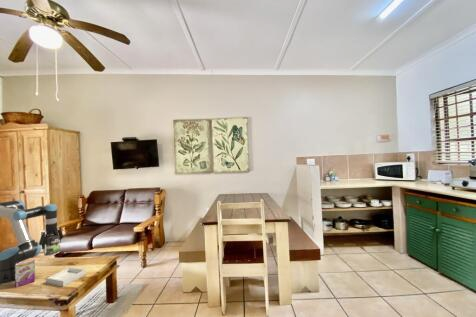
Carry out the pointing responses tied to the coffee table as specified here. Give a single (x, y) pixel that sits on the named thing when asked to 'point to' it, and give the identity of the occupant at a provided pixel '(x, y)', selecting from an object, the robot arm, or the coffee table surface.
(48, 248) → the coffee can
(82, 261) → the coffee table surface
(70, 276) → the tote
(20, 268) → the candy bar box
